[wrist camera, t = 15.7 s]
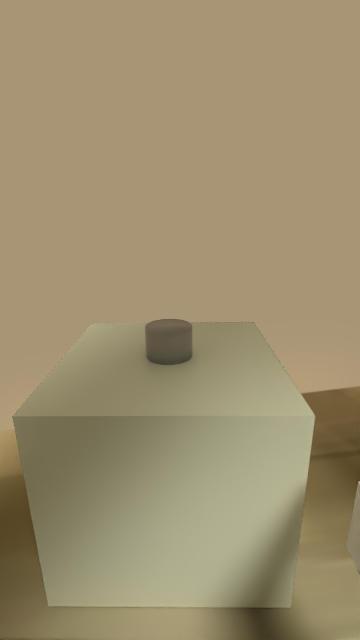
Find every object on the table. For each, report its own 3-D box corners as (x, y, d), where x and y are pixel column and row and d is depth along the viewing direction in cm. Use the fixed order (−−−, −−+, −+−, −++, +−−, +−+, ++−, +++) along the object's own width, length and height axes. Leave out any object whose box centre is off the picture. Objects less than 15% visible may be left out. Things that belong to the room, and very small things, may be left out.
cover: (246, 446, 25) (255, 299, 22) (290, 608, 15) (320, 375, 11) (104, 446, 26) (90, 300, 22) (48, 606, 15) (4, 377, 12)
